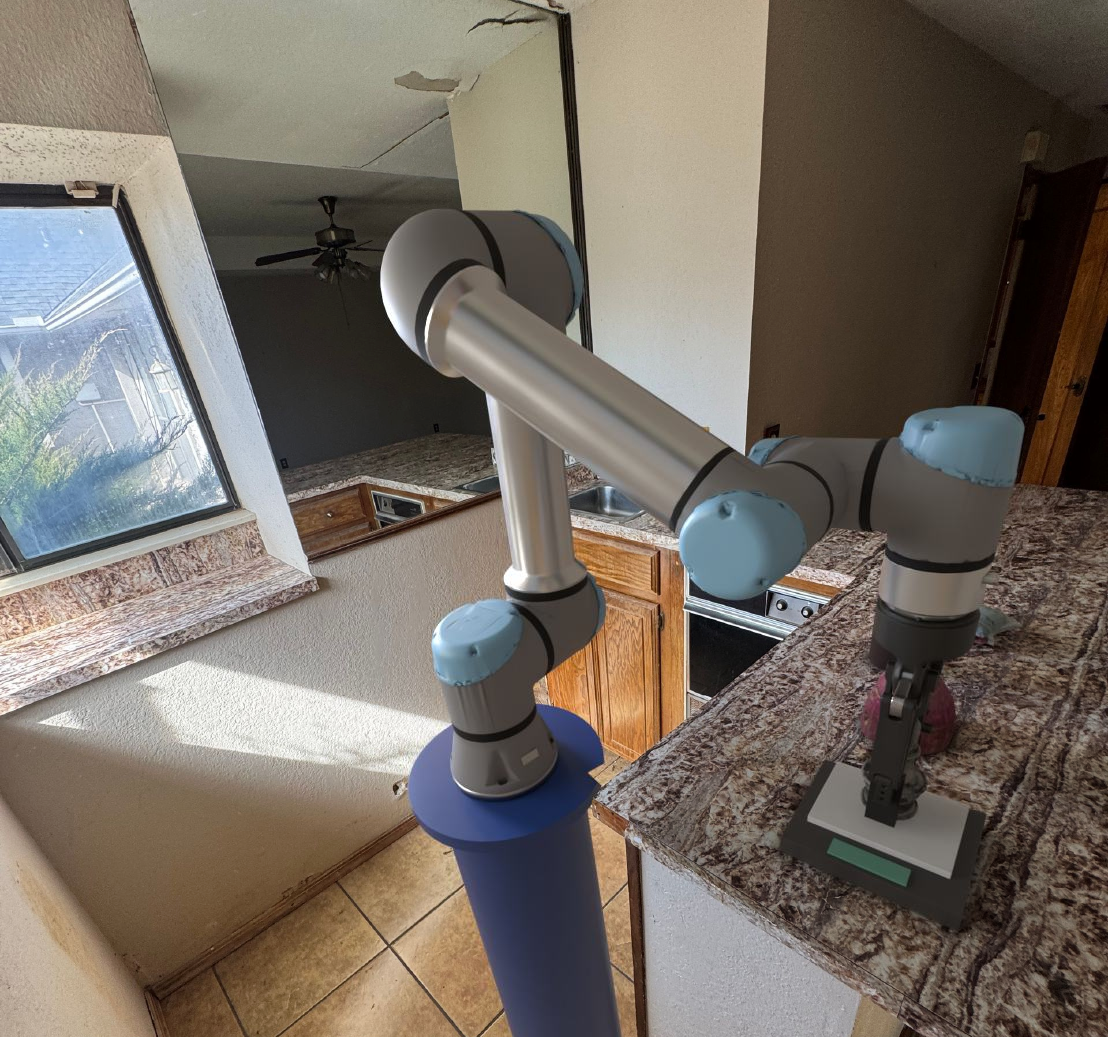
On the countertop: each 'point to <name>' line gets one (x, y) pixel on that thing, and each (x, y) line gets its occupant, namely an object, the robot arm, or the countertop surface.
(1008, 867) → the countertop surface
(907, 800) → the chess piece
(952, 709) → the vegetable
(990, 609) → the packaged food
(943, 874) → the scale
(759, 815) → the countertop surface
